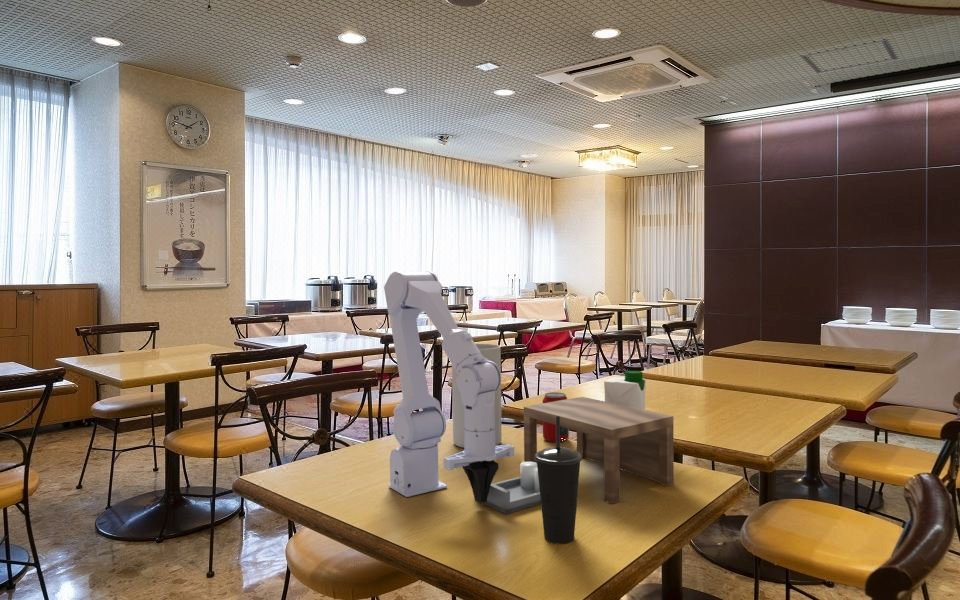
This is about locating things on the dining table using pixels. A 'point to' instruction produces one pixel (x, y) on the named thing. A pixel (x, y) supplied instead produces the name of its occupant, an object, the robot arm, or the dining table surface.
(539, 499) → the tray
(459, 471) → the dining table surface
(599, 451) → the wooden side table
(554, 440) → the beverage can
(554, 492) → the drinking cup
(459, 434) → the cylinder vase
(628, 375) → the milk carton
